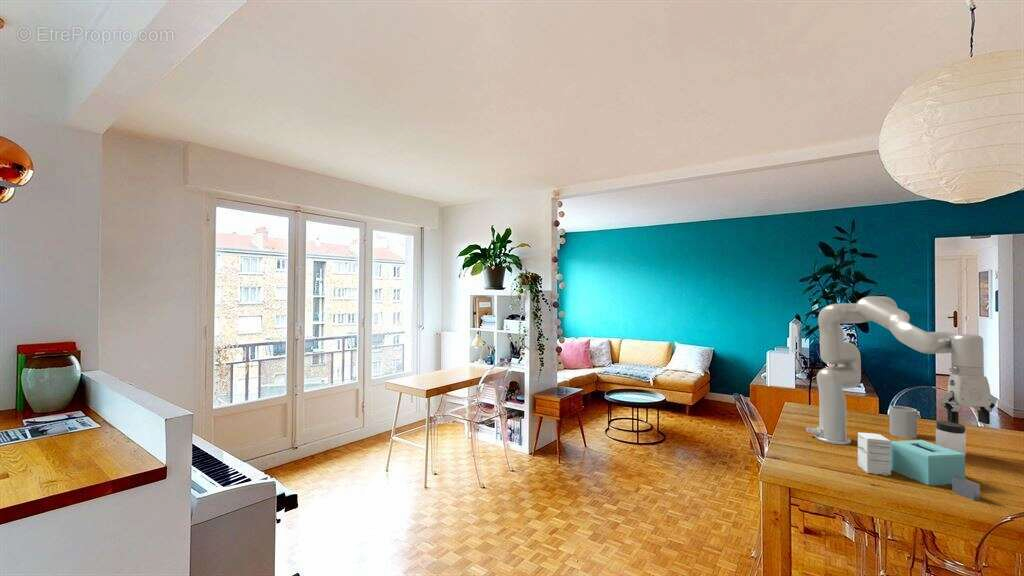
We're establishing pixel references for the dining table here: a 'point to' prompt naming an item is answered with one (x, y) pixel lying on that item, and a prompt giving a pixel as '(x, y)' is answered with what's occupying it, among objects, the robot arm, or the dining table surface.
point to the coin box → (927, 461)
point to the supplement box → (874, 453)
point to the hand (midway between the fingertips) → (968, 422)
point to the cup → (903, 422)
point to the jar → (951, 436)
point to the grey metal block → (966, 488)
